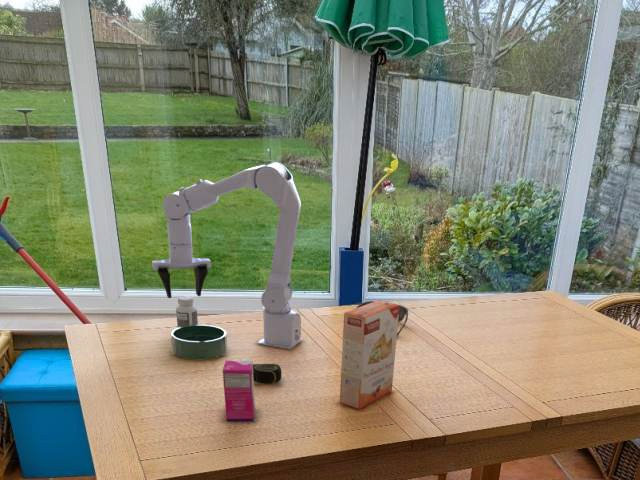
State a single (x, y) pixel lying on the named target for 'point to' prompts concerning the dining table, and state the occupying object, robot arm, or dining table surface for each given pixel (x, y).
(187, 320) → the pill bottle
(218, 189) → the robot arm
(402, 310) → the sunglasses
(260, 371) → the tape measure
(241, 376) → the supplement box
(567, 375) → the dining table surface
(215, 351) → the bowl
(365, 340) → the cracker box
